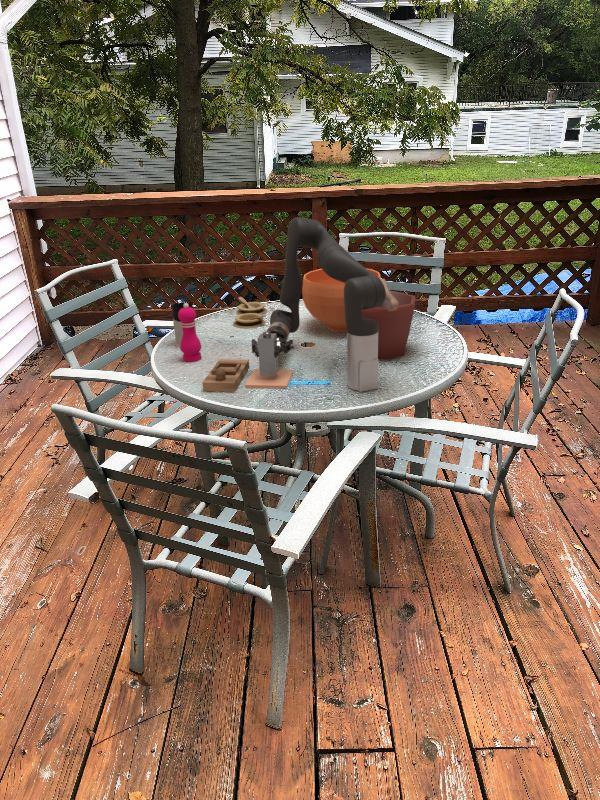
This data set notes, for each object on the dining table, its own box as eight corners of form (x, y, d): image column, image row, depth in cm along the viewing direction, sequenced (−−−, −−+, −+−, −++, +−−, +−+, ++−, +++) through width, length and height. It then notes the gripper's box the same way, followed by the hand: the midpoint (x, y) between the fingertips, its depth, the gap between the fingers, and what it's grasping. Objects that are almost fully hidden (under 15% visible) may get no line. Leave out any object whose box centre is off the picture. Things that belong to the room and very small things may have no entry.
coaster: (254, 372, 206) (254, 369, 205) (293, 372, 204) (293, 369, 203) (245, 387, 194) (245, 384, 194) (286, 388, 192) (286, 385, 192)
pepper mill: (191, 354, 224) (184, 299, 216) (206, 357, 221) (200, 301, 212) (177, 360, 218) (170, 304, 210) (193, 363, 215) (186, 307, 207)
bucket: (411, 365, 205) (413, 290, 195) (343, 363, 210) (342, 289, 200) (414, 341, 227) (416, 272, 217) (353, 339, 232) (352, 271, 221)
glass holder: (194, 338, 240) (189, 300, 234) (207, 349, 228) (202, 309, 222) (171, 343, 236) (166, 304, 230) (184, 354, 225) (179, 313, 218)
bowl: (360, 312, 263) (360, 263, 254) (395, 332, 237) (396, 278, 228) (292, 322, 253) (290, 272, 245) (321, 344, 227) (320, 289, 219)
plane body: (220, 367, 211) (218, 350, 208) (249, 368, 209) (248, 351, 207) (203, 391, 193) (201, 373, 190) (235, 392, 191) (233, 373, 189)
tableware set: (230, 310, 276) (229, 297, 274) (275, 308, 276) (274, 295, 274) (224, 331, 249) (223, 316, 247) (274, 329, 249) (273, 314, 247)
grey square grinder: (263, 369, 200) (260, 329, 195) (278, 369, 200) (276, 329, 194) (259, 375, 196) (257, 334, 190) (275, 375, 195) (273, 335, 190)
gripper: (254, 325, 207) (242, 342, 192) (297, 325, 205) (288, 343, 190) (255, 346, 210) (244, 365, 195) (298, 347, 208) (290, 366, 193)
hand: (266, 354), depth 193 cm, fingers closed on grey square grinder, 5 cm apart
